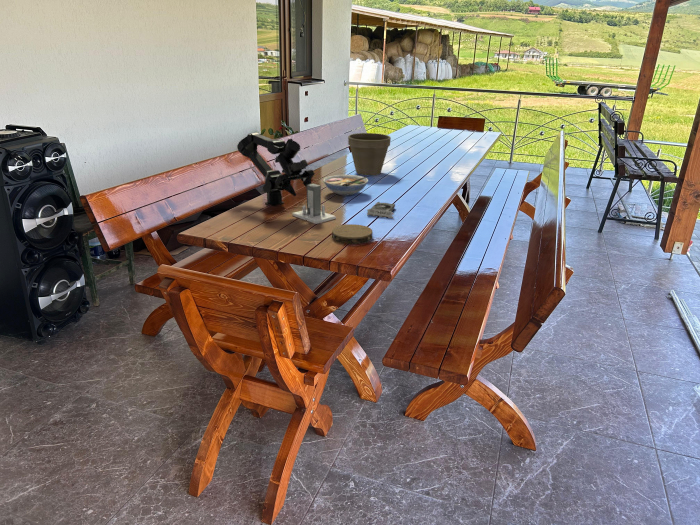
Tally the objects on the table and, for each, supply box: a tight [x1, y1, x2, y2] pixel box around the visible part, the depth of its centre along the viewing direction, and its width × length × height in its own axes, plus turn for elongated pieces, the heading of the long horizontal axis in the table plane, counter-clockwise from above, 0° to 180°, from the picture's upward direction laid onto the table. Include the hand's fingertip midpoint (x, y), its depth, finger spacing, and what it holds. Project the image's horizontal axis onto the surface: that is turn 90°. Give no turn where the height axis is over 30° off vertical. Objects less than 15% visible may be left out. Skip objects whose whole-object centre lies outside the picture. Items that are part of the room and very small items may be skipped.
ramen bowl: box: [323, 174, 370, 197], centre depth 264 cm, size 25×23×8 cm
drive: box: [306, 183, 322, 217], centre depth 226 cm, size 5×4×13 cm
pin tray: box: [292, 204, 336, 225], centre depth 228 cm, size 16×11×5 cm
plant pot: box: [347, 132, 392, 176], centre depth 307 cm, size 25×25×22 cm
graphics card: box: [366, 201, 396, 219], centre depth 236 cm, size 17×4×12 cm
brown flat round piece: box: [331, 223, 373, 245], centre depth 205 cm, size 16×16×3 cm
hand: (303, 194), depth 230 cm, fingers open, 9 cm apart
